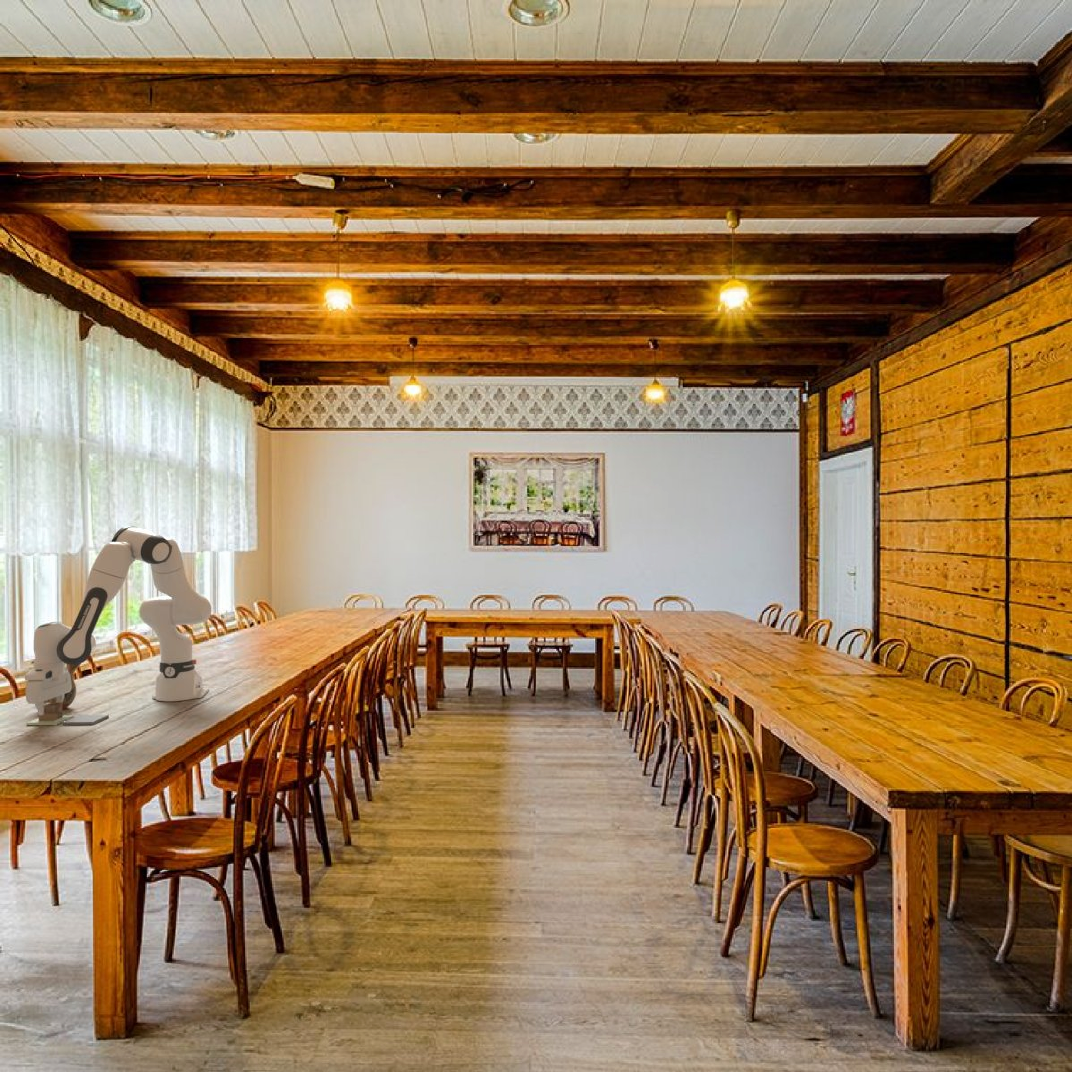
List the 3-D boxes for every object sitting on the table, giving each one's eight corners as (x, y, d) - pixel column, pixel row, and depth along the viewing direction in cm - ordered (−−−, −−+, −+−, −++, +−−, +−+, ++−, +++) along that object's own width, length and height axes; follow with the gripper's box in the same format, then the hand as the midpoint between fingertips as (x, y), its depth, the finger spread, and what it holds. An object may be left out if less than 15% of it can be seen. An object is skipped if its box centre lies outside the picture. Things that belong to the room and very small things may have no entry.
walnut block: (47, 717, 274) (47, 702, 274) (62, 717, 274) (62, 702, 274) (38, 720, 269) (38, 705, 269) (53, 720, 269) (53, 705, 269)
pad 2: (79, 718, 276) (79, 715, 276) (108, 717, 276) (108, 714, 276) (62, 725, 266) (62, 722, 266) (92, 725, 266) (92, 722, 266)
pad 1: (44, 718, 276) (44, 715, 276) (73, 718, 276) (73, 715, 276) (26, 725, 266) (26, 722, 266) (56, 725, 266) (56, 722, 266)
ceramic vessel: (87, 705, 296) (86, 637, 296) (75, 711, 287) (74, 641, 287) (41, 706, 295) (40, 638, 295) (27, 712, 286) (26, 642, 286)
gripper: (58, 665, 281) (58, 704, 282) (21, 676, 261) (22, 718, 261) (76, 665, 281) (77, 704, 282) (40, 676, 261) (41, 718, 261)
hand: (50, 711), depth 271 cm, fingers open, 8 cm apart
